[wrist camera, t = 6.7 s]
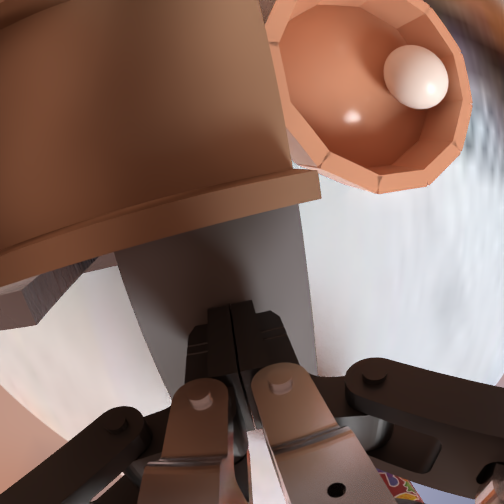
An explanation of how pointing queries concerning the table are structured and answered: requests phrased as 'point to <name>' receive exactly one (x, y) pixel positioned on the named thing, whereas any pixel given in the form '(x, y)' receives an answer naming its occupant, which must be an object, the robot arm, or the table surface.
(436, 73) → the ball
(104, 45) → the lever
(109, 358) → the table surface
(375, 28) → the orange bowl
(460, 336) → the table surface
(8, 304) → the stand
